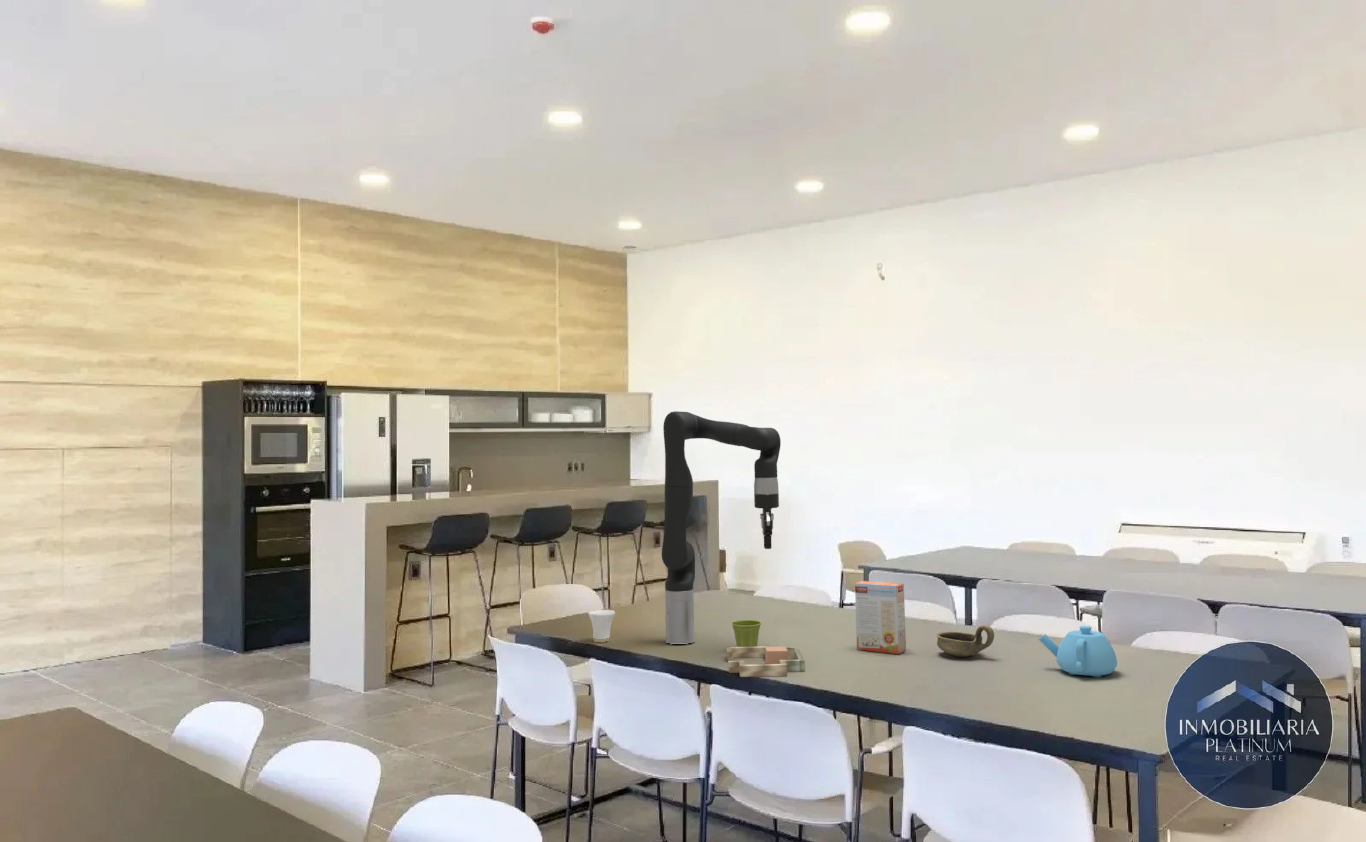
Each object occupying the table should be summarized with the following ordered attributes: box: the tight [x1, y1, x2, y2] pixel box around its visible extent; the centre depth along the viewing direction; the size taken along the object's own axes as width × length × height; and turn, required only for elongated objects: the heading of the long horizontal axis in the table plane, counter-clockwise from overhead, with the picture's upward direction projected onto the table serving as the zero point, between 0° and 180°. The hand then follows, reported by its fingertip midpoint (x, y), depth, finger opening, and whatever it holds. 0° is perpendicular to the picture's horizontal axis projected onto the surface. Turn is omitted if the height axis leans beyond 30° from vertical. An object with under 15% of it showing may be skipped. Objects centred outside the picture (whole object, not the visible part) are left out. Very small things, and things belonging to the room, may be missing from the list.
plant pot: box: [730, 619, 762, 647], centre depth 305 cm, size 9×9×9 cm
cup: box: [587, 609, 616, 639], centre depth 324 cm, size 9×9×10 cm
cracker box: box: [854, 580, 907, 655], centre depth 300 cm, size 14×6×21 cm, turn 53°
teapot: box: [1038, 625, 1118, 678], centre depth 268 cm, size 20×20×13 cm
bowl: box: [936, 624, 995, 658], centre depth 290 cm, size 14×18×10 cm
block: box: [764, 646, 788, 664], centre depth 284 cm, size 6×6×5 cm
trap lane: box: [726, 645, 806, 678], centre depth 284 cm, size 22×25×4 cm
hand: (767, 548), depth 301 cm, fingers closed
